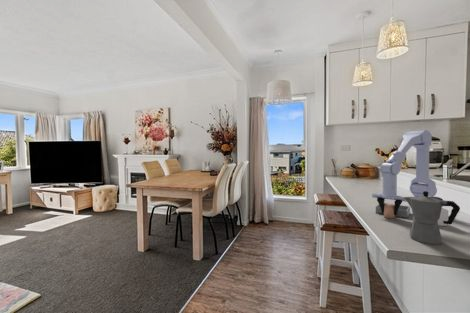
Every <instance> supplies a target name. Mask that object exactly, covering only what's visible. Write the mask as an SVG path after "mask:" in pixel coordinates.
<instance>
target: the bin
mask: <svg viewBox="0 0 470 313" xmlns="http://www.w3.org/2000/svg"><path fill="white" fill-rule="evenodd" d="M384 204H388V203H387V202H384ZM391 204H392V205H395V203H394V204H393V203H391ZM375 213H376V214H379V215H384V213H382V211H381V207H380V205H379V203H378V204H377V205H376V206H375ZM410 214H411V207H410V205H402V204H401V205H400V206H399V209H398V212H397V215H395V217H397V218H403V219H408V217H409V216H410Z"/></svg>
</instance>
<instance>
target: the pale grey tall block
mask: <svg viewBox="0 0 470 313" xmlns="http://www.w3.org/2000/svg"><path fill="white" fill-rule="evenodd" d="M428 197H432V198H435V199H439V200H443V198H441V197H438V196H434V197H433V196H428ZM443 207H444V206H442V209H441V214H440V218H439V219H438V225H439V227H440V226H442V227H443V226H444V227H448V226H449V224H444V223H443V221H448V218H449V210H448V209H445V208H443Z"/></svg>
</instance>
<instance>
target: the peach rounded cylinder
mask: <svg viewBox="0 0 470 313" xmlns="http://www.w3.org/2000/svg"><path fill="white" fill-rule="evenodd" d="M392 204H393V203H387V204H384V214H383V217H384V218H387V219H396V216H395V215H394V212H395V205H392Z"/></svg>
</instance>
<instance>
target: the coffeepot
mask: <svg viewBox="0 0 470 313" xmlns="http://www.w3.org/2000/svg"><path fill="white" fill-rule="evenodd" d="M428 193H429V192H427V191H424V192H423V194H424V196H419V197H414V196H403V197H404V199H405V200H406V201H407V202H406V203H408V206H409V207H410V209H411V213H412V216H413V220H412V223H411V228H410V231H409V237H410V238H411V239H412V240H414V241H416V242H419V243H423V244H428V245H436V246H437V245H441V244H443V239H442V235H441V230H440V226H439V225H438V219H439V218H440V214H441V209H442V208H443V207H451V208H452V209H451V211H450V214H449V215H448V221H443V223H444V224H448V225H452V224H453V223H454V222H455V219H456V218H457V216H458V214H459V212H460V210H461V207H460V206H459V205H458V204H457V203H456V202H455V201H453V200H445V199H444V200H439V199H435V198H432V197H428ZM442 206H443V207H442Z"/></svg>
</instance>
